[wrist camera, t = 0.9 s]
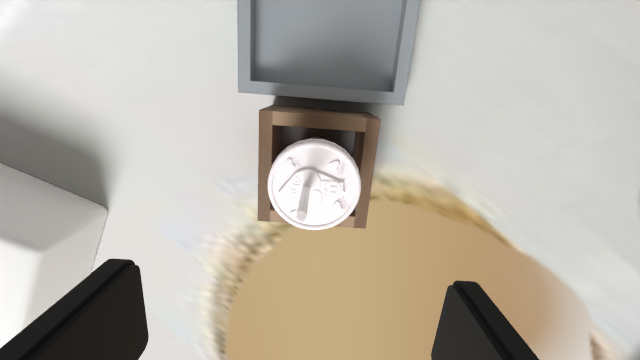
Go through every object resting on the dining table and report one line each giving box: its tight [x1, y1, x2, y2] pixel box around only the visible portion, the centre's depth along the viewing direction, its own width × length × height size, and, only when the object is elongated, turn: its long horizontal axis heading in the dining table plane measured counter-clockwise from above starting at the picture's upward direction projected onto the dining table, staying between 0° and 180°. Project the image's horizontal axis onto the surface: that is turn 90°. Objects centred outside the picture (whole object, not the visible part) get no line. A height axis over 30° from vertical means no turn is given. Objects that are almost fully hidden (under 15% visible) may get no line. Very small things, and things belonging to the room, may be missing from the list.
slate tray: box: [237, 0, 420, 106], centre depth 24 cm, size 14×12×2 cm
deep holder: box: [258, 105, 380, 228], centre depth 26 cm, size 9×9×6 cm
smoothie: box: [268, 137, 361, 230], centre depth 22 cm, size 6×6×14 cm
